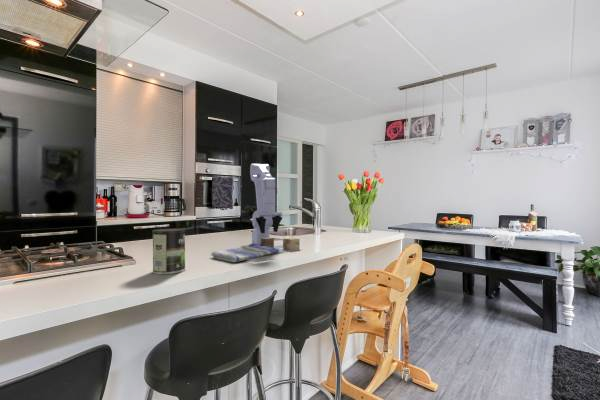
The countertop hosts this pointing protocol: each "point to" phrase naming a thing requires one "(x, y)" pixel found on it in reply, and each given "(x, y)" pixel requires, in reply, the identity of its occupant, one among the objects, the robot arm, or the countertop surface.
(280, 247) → the board
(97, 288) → the countertop surface
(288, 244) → the oak base block
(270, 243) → the walnut block
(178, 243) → the coffee can
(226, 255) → the dish towel
